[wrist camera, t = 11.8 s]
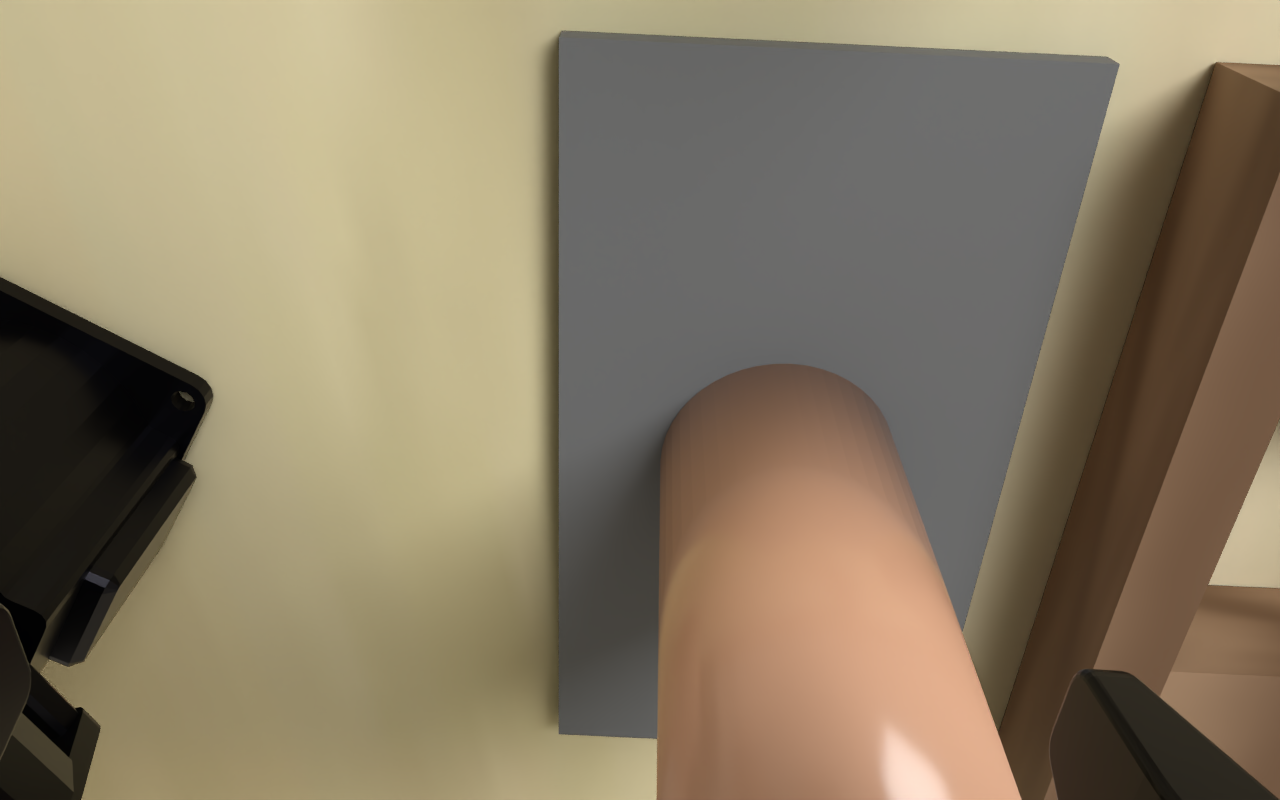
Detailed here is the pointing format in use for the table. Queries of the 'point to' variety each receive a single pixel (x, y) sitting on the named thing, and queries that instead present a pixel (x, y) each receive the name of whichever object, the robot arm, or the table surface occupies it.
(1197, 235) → the well block
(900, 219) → the mat
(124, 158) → the table surface
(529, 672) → the table surface
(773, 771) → the pink tall rounded piece
